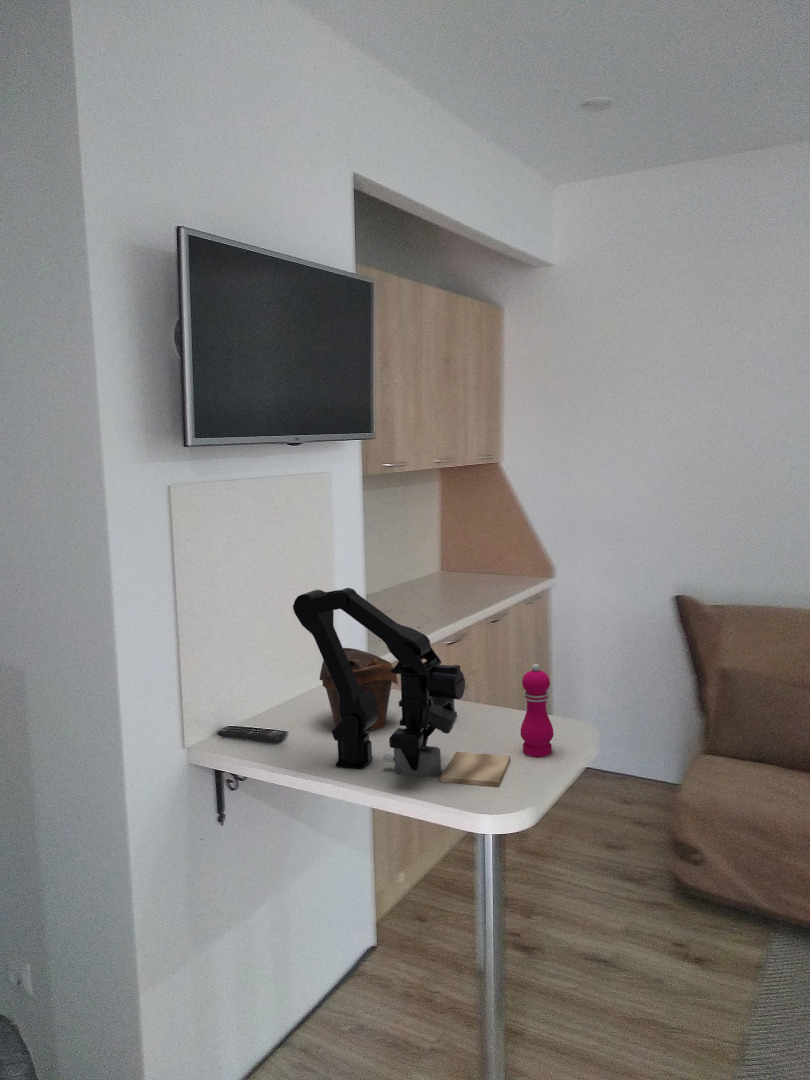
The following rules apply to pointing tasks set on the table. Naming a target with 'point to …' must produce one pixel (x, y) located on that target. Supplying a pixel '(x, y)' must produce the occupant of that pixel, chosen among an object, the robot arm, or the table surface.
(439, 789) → the table surface
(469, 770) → the cork mat
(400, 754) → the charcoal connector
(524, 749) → the pepper mill
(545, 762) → the table surface
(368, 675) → the brown tapered rounded piece
